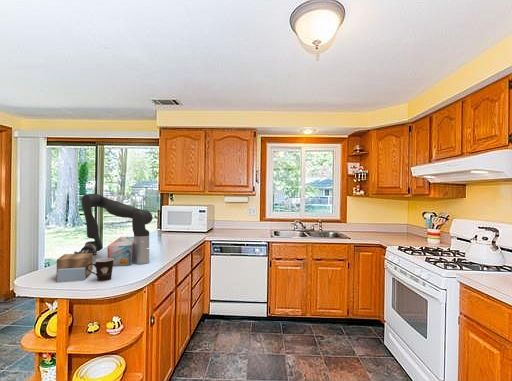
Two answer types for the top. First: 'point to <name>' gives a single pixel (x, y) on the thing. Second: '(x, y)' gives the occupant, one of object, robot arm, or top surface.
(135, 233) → the robot arm
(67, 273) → the block
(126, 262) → the soda box
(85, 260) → the wood grain cube
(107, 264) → the coffee mug
